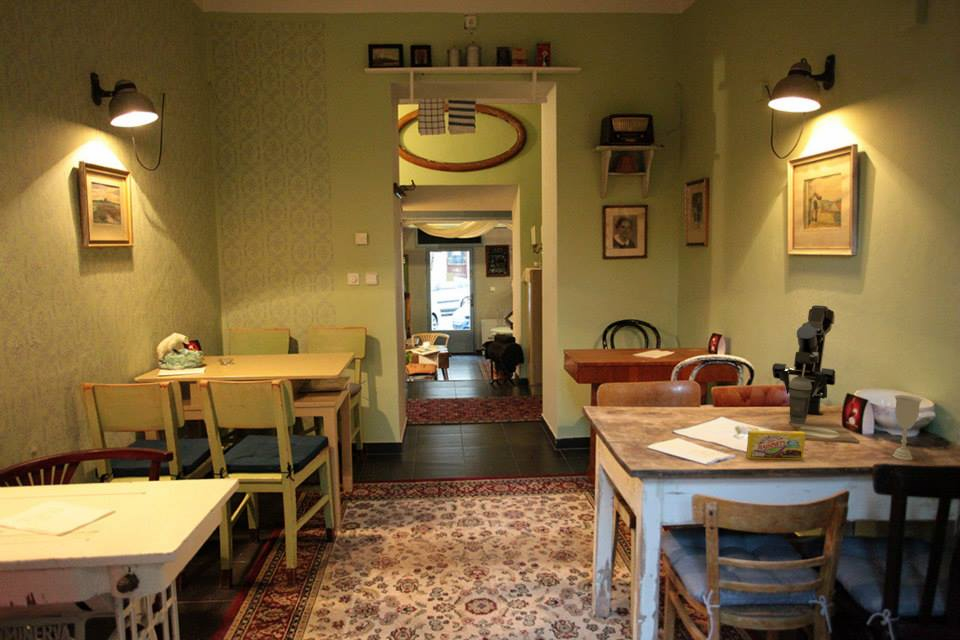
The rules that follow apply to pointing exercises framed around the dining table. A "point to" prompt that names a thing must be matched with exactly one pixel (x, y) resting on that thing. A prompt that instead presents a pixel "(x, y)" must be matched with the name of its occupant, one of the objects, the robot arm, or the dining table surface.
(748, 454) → the candy box
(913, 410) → the chalice
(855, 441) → the walnut board
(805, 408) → the beverage cup
